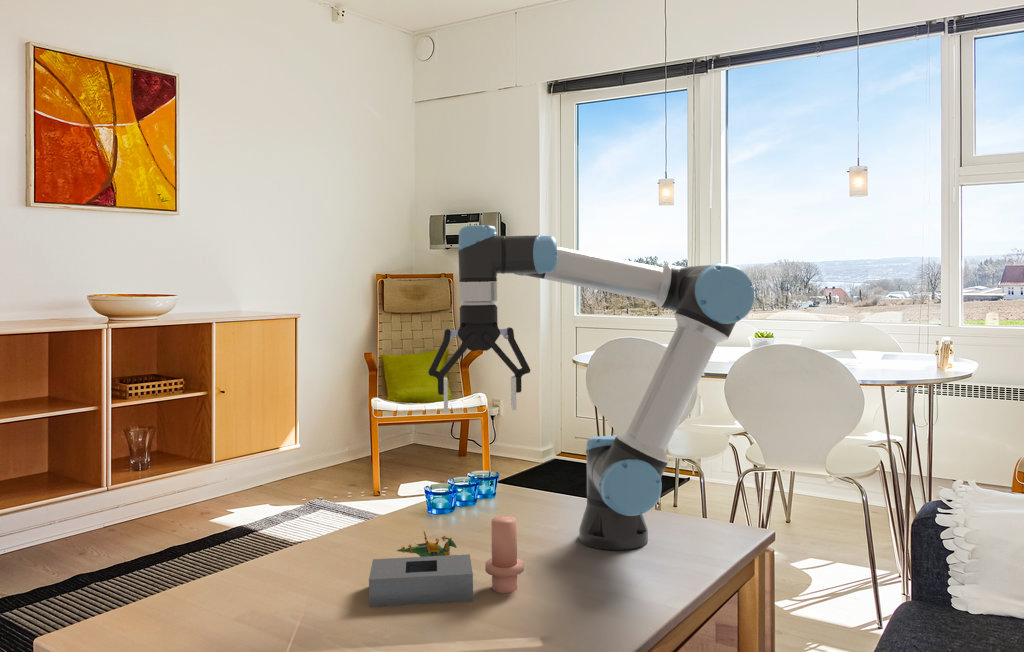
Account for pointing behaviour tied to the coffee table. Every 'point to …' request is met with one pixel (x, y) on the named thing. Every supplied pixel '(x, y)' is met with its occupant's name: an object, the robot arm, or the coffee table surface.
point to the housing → (420, 580)
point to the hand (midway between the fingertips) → (480, 410)
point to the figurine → (430, 548)
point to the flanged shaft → (504, 555)
